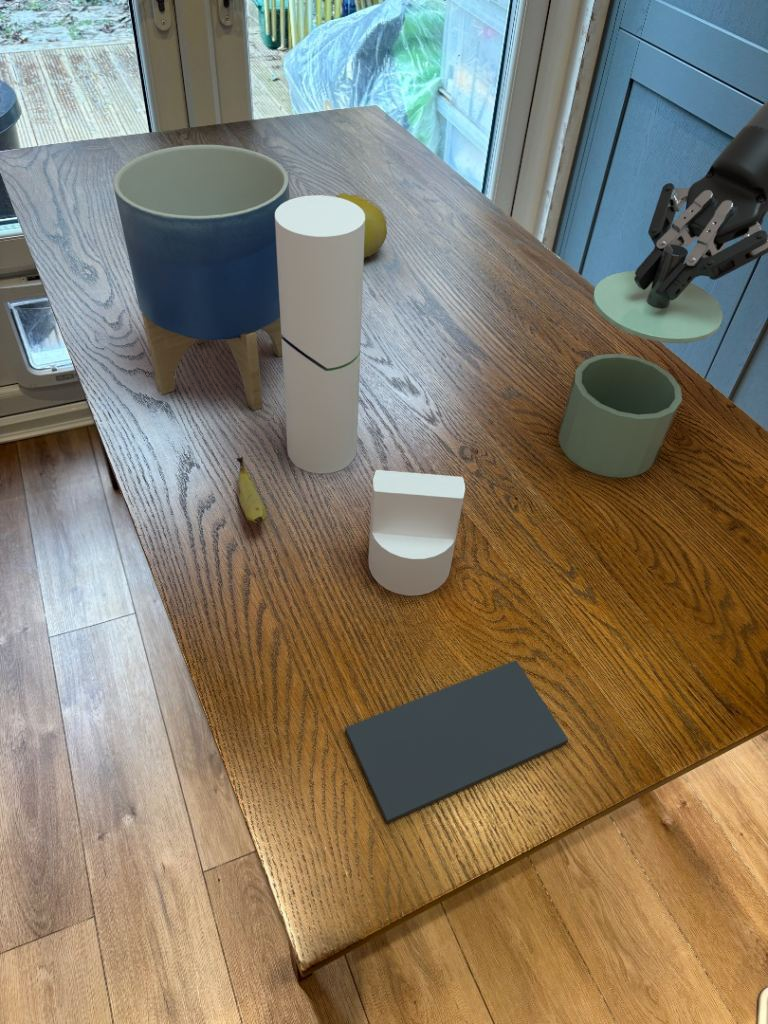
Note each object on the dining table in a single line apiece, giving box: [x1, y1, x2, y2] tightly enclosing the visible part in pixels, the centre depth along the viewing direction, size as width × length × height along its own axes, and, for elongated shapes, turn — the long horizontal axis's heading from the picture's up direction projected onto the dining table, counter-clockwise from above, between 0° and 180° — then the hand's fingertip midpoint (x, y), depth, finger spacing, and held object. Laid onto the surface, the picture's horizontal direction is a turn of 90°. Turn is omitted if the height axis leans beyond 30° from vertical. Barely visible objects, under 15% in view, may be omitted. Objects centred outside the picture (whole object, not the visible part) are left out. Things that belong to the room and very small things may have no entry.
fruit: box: [334, 192, 388, 259], centre depth 124 cm, size 10×11×10 cm
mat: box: [344, 660, 569, 824], centre depth 67 cm, size 18×9×1 cm, turn 115°
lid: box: [592, 245, 724, 344], centre depth 79 cm, size 14×14×7 cm
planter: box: [113, 144, 290, 411], centre depth 93 cm, size 19×19×26 cm
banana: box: [236, 456, 267, 524], centre depth 84 cm, size 10×2×4 cm, turn 19°
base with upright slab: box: [367, 469, 466, 597], centre depth 77 cm, size 9×9×12 cm
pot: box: [557, 353, 683, 479], centre depth 93 cm, size 13×13×10 cm
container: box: [275, 194, 365, 475], centre depth 82 cm, size 9×9×30 cm
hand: (650, 291), depth 78 cm, fingers closed on lid, 2 cm apart
